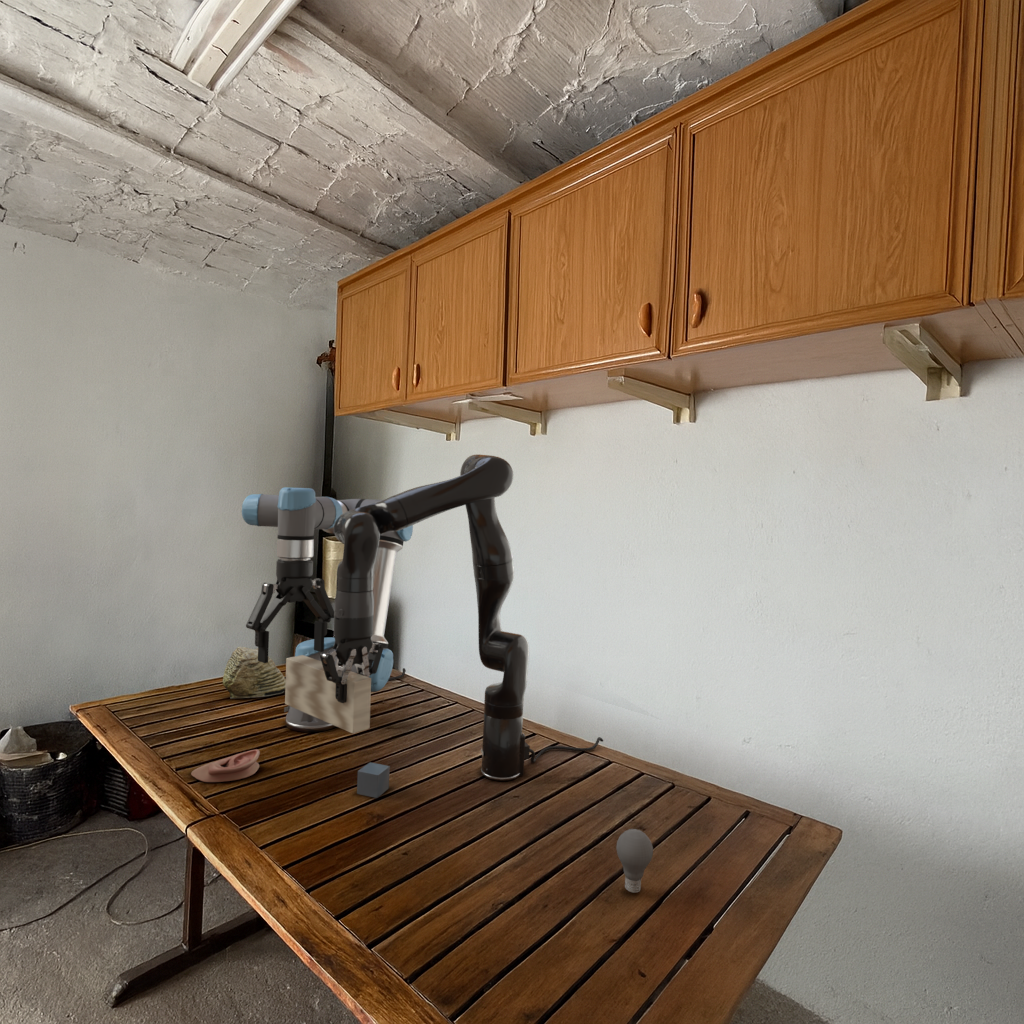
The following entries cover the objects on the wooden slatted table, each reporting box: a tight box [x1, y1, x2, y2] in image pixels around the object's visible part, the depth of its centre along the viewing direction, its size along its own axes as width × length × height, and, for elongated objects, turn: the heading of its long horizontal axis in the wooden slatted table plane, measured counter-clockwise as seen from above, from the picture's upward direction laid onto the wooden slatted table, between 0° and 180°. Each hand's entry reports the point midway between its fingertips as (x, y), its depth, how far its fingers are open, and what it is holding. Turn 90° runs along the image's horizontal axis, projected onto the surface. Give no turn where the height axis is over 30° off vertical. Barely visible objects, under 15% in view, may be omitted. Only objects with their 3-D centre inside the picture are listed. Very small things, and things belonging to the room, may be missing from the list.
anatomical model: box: [190, 748, 261, 783], centre depth 143 cm, size 13×4×12 cm
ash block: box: [284, 655, 372, 734], centre depth 130 cm, size 24×4×10 cm, turn 51°
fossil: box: [222, 646, 286, 699], centre depth 198 cm, size 9×18×15 cm, turn 132°
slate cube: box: [356, 761, 391, 799], centre depth 137 cm, size 5×5×5 cm
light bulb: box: [615, 828, 654, 894], centre depth 106 cm, size 6×6×10 cm
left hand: (291, 656), depth 138 cm, fingers open, 13 cm apart
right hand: (351, 698), depth 125 cm, fingers closed on ash block, 4 cm apart
